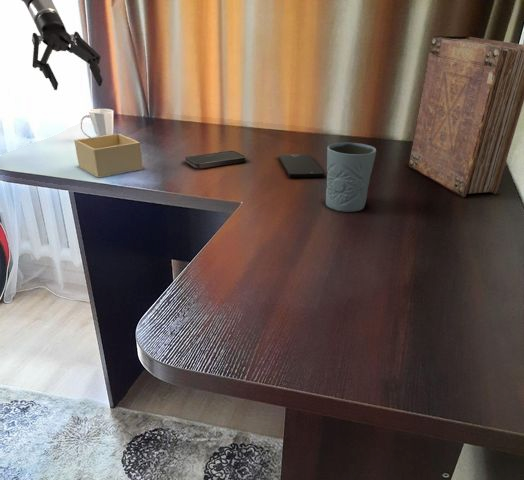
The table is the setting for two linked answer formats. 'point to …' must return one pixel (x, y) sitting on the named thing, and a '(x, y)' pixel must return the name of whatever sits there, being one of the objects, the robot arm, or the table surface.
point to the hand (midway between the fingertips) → (79, 85)
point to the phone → (215, 159)
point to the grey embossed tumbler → (348, 175)
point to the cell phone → (300, 165)
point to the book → (468, 112)
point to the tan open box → (108, 155)
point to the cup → (100, 121)
